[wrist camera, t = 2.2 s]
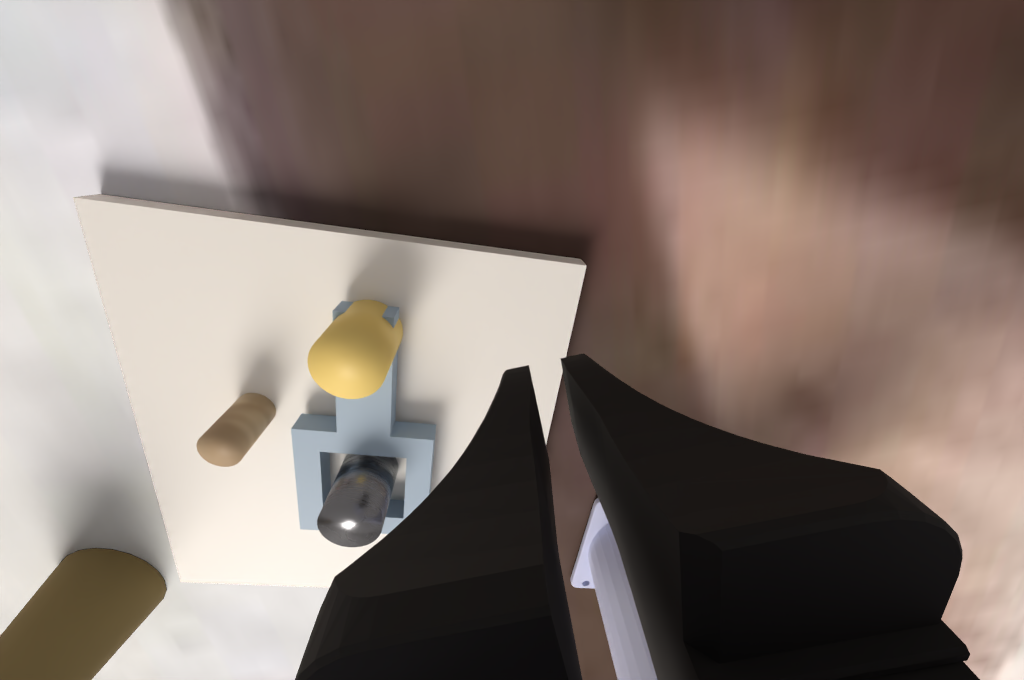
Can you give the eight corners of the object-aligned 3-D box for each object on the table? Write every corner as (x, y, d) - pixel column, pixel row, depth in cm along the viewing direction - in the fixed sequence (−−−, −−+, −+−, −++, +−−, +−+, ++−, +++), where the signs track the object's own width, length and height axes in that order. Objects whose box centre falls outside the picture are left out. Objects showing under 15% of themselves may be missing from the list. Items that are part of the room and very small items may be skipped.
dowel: (285, 381, 21) (240, 434, 17) (288, 411, 21) (245, 468, 18) (247, 378, 20) (193, 430, 17) (251, 408, 21) (200, 465, 17)
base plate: (580, 258, 19) (586, 265, 18) (511, 577, 28) (512, 594, 27) (100, 193, 17) (72, 197, 16) (193, 563, 26) (180, 582, 25)
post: (403, 432, 22) (382, 504, 18) (401, 471, 24) (381, 548, 19) (350, 427, 22) (315, 500, 18) (350, 468, 23) (318, 545, 19)
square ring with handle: (428, 517, 23) (419, 574, 20) (309, 510, 22) (281, 568, 19) (446, 308, 18) (438, 341, 15) (292, 290, 17) (250, 321, 14)
